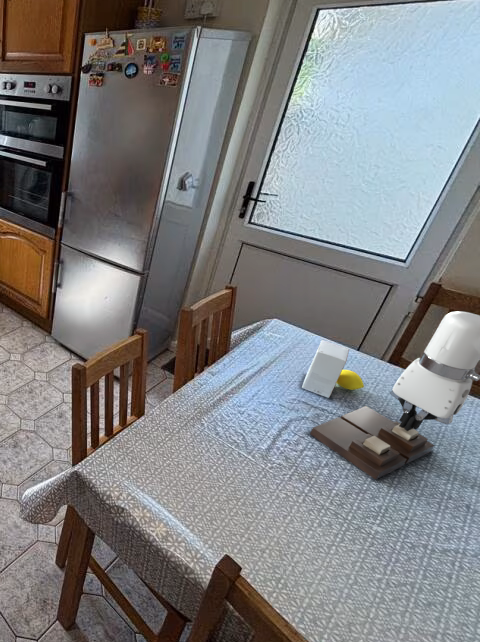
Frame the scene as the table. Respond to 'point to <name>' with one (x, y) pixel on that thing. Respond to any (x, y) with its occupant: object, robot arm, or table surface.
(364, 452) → the keys high
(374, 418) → the keys low
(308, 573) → the table surface
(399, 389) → the robot arm
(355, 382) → the lemon
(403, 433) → the key
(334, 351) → the small box
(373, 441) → the key
